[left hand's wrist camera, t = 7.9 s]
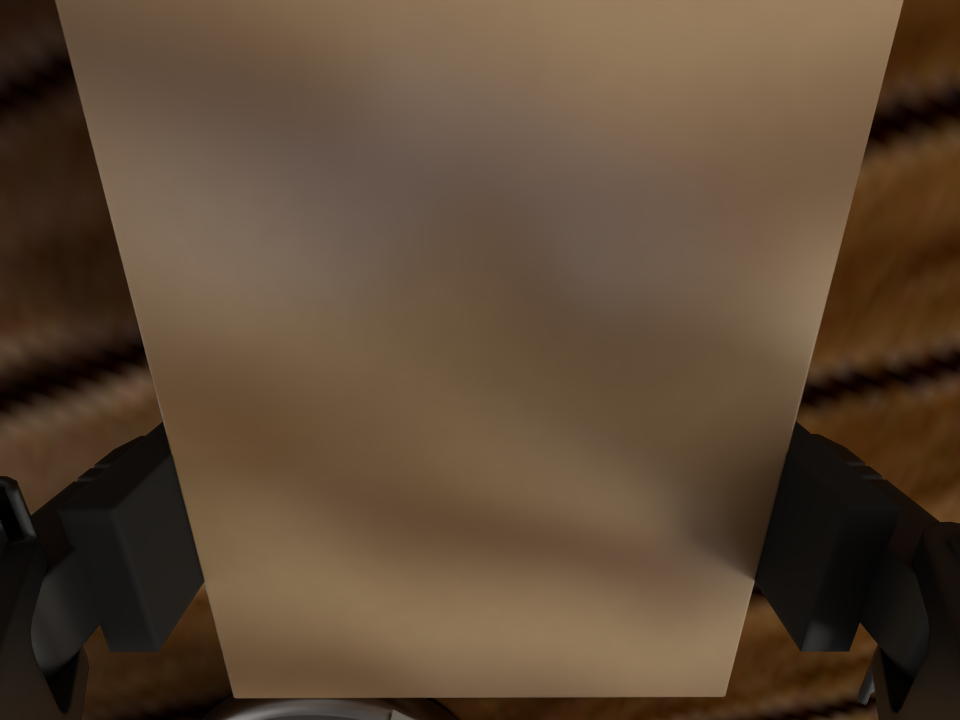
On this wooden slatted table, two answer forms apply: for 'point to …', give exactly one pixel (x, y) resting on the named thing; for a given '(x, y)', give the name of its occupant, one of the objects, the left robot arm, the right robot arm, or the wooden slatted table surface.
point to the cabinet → (479, 317)
